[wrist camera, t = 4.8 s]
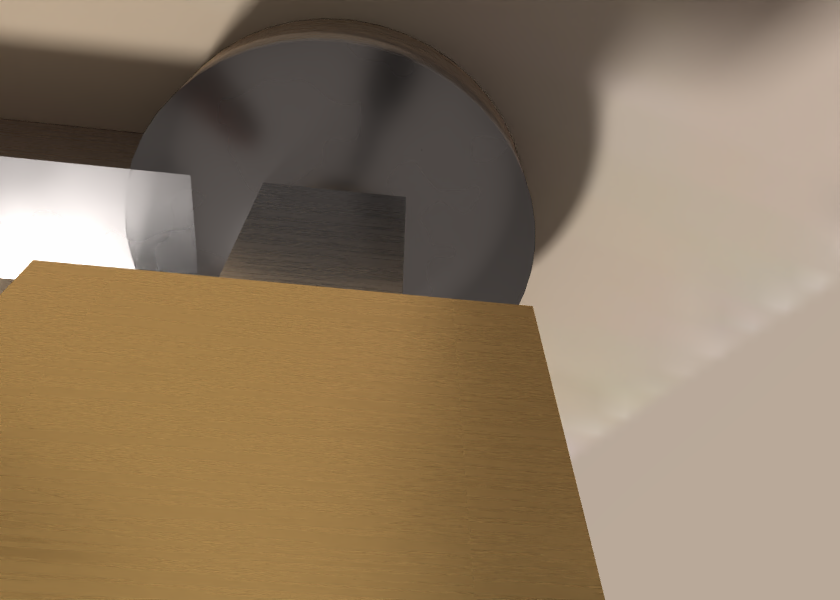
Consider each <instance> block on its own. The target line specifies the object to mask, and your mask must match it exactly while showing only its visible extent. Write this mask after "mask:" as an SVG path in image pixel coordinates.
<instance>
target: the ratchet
mask: <svg viewBox="0 0 840 600" xmlns="http://www.w3.org/2000/svg"><path fill="white" fill-rule="evenodd" d="M534 250H535V221H534V214H533V207H532V200H531V197H530V193H529V190H528V187H527V183H526V180H525V177H524V173H523V170H522V167H521V164H520V161H519V158H518V155H517V152H516V149H515V146H514V143H513V140H512V138H511V136H510V134H509V131H508V129H507V127H506V125H505V123H504V121H503V119H502V117H501V116H500V114H499V113H498V111H497V109H496V108H495V106H494V105H493V103H492V102H491V100H490V99H489V97H488V96H487V95H486V94H485V93H484V92H483V90H482V89H481V88H480V87H479V86H478V85H477V83H476V82H475V81H474V80H473V79H472V78H471V77H470V76H469V75H468V74H467V73H465V72H464V71H463V70H462V69H461V68H460V67H459V66H457V65H456V64H455V63H454V62H453V61H452V60H450V59H449V58H447V57H446V56H444V55H443V54H441V53H440V52H438V51H437V50H435V49H434V48H432V47H431V46H429V45H427V44H425V43H423V42H421V41H419V40H416V39H414V38H412V37H410V36H408V35H406V34H404V33H401V32H398V31H395V30H392V29H389V28H386V27H383V26H380V25H375V24H370V23H364V22H359V21H354V20H341V19H313V20H303V21H294V22H290V23H285V24H281V25H277V26H273V27H269V28H266V29H264V30H261V31H259V32H256V33H254V34H251V35H249V36H246V37H244V38H242V39H240V40H239V41H237V42H235V43H234V44H232V45H230V46H228V47H227V48H225V49H223V50H222V51H220V52H219V53H218V54H217V55H215V56H214V57H213V58H212V59H210V60H209V61H208V62H207V63H206V64H204V65H203V66H202V67H201V68H200V69H199V70H198V71H197V72H196V73H195V74H194V75H193V76H192V77H191V78H190V79H189V80H188V81H187V82H186V83H185V84H184V85H183V86H182V87H181V88H180V89H179V90H178V91H177V92H176V93H175V94H174V95H173V96H172V97H171V98H170V99H169V101H168V102H167V103H166V104H165V105H164V106H163V107H162V108H161V109H160V111H159V112H158V113H157V114H156V115H155V117H154V119H153V120H152V122H151V123H150V125H149V126H148V128H147V130H146V131H145V133H144V134H141V133H131V132H122V131H112V130H103V129H93V128H83V127H74V126H64V125H54V124H45V123H35V122H26V121H16V120H6V119H0V278H8V279H16V277H17V276H18V275H19V274H20V273H21V272H22V271H23V270H24V269H25V268H26V267H27V266H28V265H29V264H30V262H31V261H32V260H39V261H50V262H61V263H72V264H83V265H93V266H104V267H115V268H126V269H137V270H147V271H158V272H169V273H180V274H191V275H201V276H212V277H223V278H234V279H245V280H255V281H266V282H277V283H288V284H299V285H309V286H320V287H331V288H342V289H353V290H363V291H374V292H385V293H396V294H407V295H417V296H428V297H439V298H450V299H461V300H471V301H482V302H493V303H504V304H515V305H519V303H520V301H521V299H522V297H523V295H524V292H525V289H526V286H527V283H528V280H529V276H530V273H531V269H532V263H533V256H534Z"/></svg>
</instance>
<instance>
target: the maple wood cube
mask: <svg viewBox="0 0 840 600" xmlns="http://www.w3.org/2000/svg"><path fill="white" fill-rule="evenodd" d="M0 600H605V598H604V594H603V590H602V586H601V581H600V578H599V573H598V569H597V565H596V561H595V557H594V553H593V549H592V545H591V541H590V537H589V533H588V529H587V525H586V521H585V516H584V512H583V508H582V505H581V500H580V496H579V492H578V488H577V484H576V480H575V476H574V472H573V468H572V464H571V460H570V456H569V452H568V448H567V443H566V439H565V435H564V431H563V427H562V423H561V419H560V415H559V411H558V407H557V403H556V399H555V395H554V391H553V387H552V383H551V379H550V375H549V371H548V366H547V362H546V358H545V354H544V350H543V346H542V342H541V338H540V334H539V330H538V326H537V322H536V318H535V314H534V310H533V306H525V305H515V304H504V303H493V302H482V301H471V300H461V299H450V298H439V297H428V296H417V295H407V294H396V293H385V292H374V291H363V290H353V289H342V288H331V287H320V286H309V285H299V284H288V283H277V282H266V281H255V280H245V279H234V278H223V277H212V276H201V275H191V274H180V273H169V272H158V271H147V270H137V269H126V268H115V267H104V266H93V265H83V264H72V263H61V262H50V261H39V260H32V261H31V262H30V264H29V265H28V266H27V267H26V268H25V269H24V270H23V271H22V272H21V273H20V274H19V275H18V276H17V277H16V279H15V280H14V281H13V282H12V283H11V284H10V285H9V286H8V287H7V288H6V289H5V290H4V291H3V292H2V293H1V295H0Z"/></svg>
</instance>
